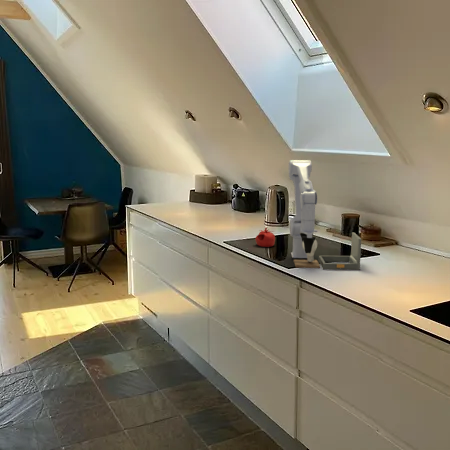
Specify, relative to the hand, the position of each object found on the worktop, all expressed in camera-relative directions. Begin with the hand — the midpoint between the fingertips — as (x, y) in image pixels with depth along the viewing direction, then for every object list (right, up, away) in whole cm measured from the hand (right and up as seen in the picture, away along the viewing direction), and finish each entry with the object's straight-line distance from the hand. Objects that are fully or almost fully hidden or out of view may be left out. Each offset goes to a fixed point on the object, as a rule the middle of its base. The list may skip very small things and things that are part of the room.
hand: (307, 251), depth 231 cm
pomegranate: (-15, +1, +38) cm, 41 cm away
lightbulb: (+2, -5, +1) cm, 5 cm away
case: (+13, -6, 0) cm, 14 cm away
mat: (0, -6, +1) cm, 6 cm away
